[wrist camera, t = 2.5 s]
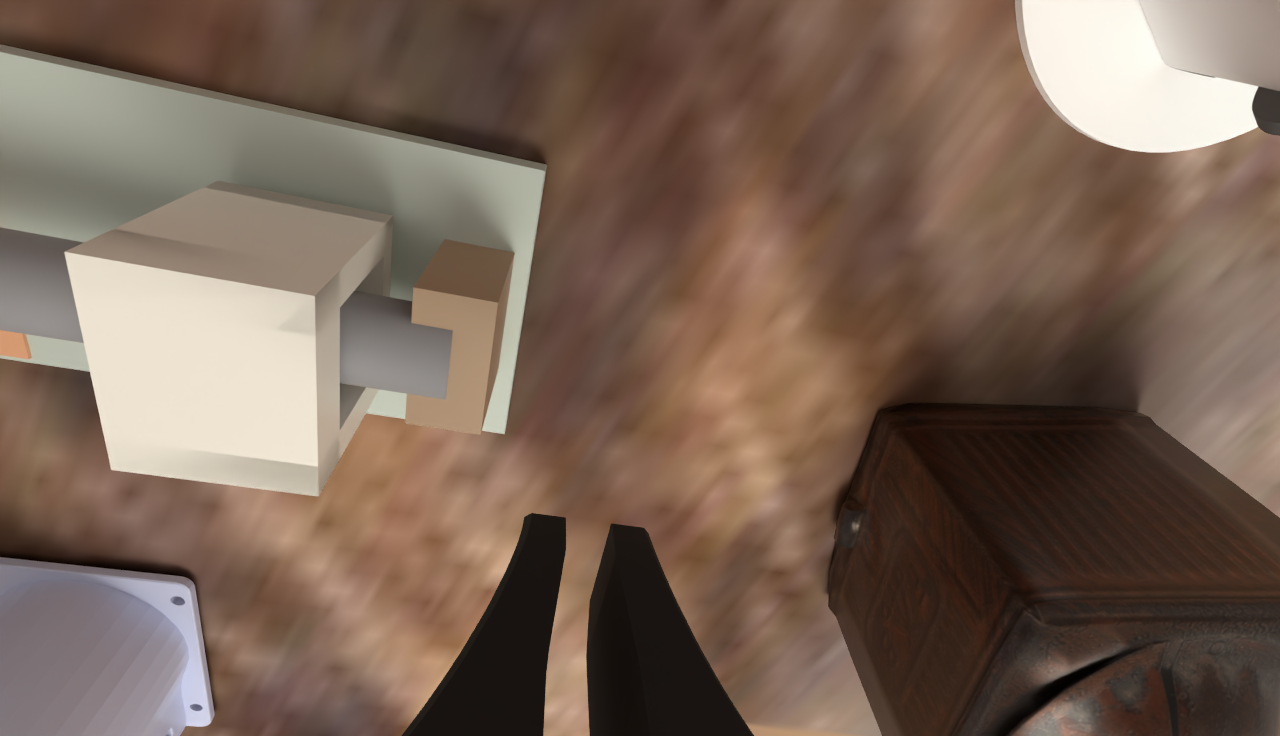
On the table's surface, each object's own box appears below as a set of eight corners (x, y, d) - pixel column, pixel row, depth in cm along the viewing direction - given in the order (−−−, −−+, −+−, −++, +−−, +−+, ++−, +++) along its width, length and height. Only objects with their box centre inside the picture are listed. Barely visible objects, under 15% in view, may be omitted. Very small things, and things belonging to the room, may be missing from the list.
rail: (547, 164, 18) (530, 216, 14) (507, 420, 22) (484, 524, 18) (-405, -46, 15) (-845, -67, 10) (-238, 306, 19) (-497, 399, 14)
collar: (393, 215, 17) (315, 296, 12) (386, 377, 20) (318, 496, 15) (218, 180, 17) (64, 251, 12) (233, 352, 19) (111, 469, 14)
